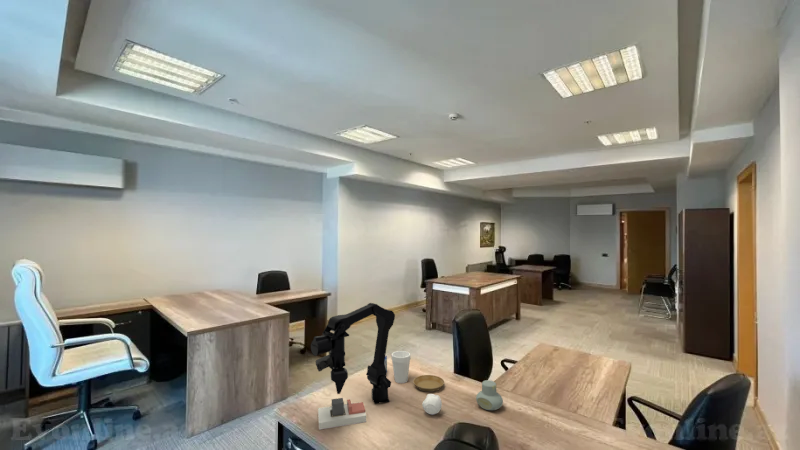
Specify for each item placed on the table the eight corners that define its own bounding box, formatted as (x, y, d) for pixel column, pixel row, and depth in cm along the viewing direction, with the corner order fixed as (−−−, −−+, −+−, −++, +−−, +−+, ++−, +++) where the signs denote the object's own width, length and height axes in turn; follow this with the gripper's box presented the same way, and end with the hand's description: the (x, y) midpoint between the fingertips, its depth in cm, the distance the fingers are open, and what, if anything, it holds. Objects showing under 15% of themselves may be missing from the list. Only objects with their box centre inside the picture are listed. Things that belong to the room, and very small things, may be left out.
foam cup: (396, 386, 161) (396, 359, 162) (388, 378, 169) (388, 352, 170) (414, 381, 166) (413, 355, 166) (405, 374, 174) (404, 349, 174)
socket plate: (361, 407, 142) (361, 401, 142) (366, 421, 131) (366, 415, 131) (318, 414, 137) (318, 408, 137) (318, 429, 126) (318, 422, 126)
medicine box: (383, 377, 171) (383, 360, 171) (375, 377, 172) (374, 360, 172) (387, 371, 178) (387, 355, 179) (379, 371, 179) (378, 354, 180)
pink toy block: (362, 403, 140) (362, 397, 140) (365, 411, 133) (365, 404, 133) (347, 406, 138) (347, 399, 138) (349, 414, 132) (349, 407, 132)
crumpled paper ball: (431, 406, 142) (431, 387, 142) (445, 413, 137) (445, 393, 137) (418, 413, 137) (418, 394, 137) (433, 420, 131) (432, 400, 131)
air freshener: (506, 407, 141) (505, 383, 141) (497, 415, 135) (496, 390, 135) (482, 399, 148) (482, 376, 148) (473, 406, 142) (472, 382, 142)
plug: (342, 415, 136) (342, 397, 136) (343, 420, 132) (343, 403, 132) (331, 416, 135) (331, 399, 135) (332, 422, 131) (332, 404, 131)
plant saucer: (422, 377, 171) (422, 372, 171) (449, 384, 163) (449, 378, 163) (407, 389, 159) (407, 383, 159) (435, 397, 151) (435, 391, 151)
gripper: (316, 343, 141) (316, 381, 141) (317, 359, 123) (317, 402, 123) (342, 341, 144) (343, 377, 144) (347, 356, 126) (348, 398, 126)
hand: (337, 388), depth 134 cm, fingers open, 9 cm apart
